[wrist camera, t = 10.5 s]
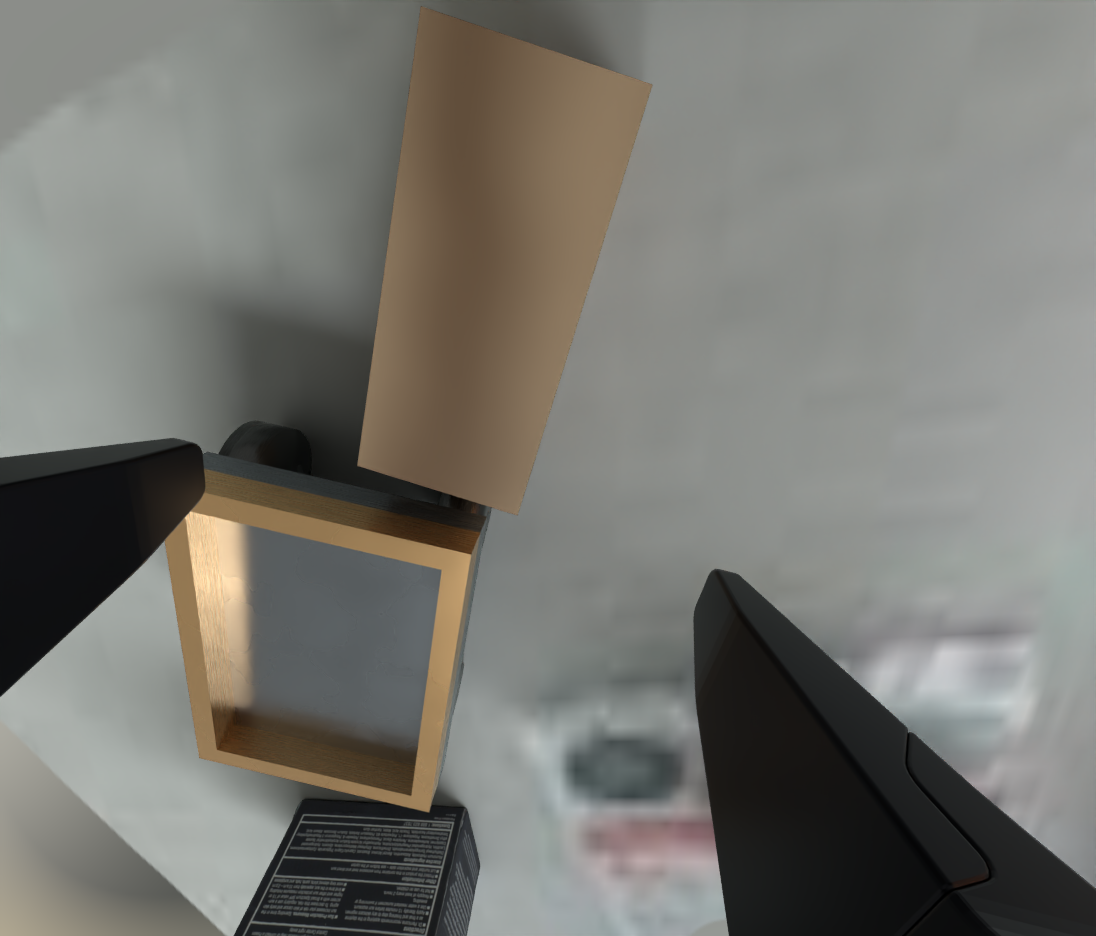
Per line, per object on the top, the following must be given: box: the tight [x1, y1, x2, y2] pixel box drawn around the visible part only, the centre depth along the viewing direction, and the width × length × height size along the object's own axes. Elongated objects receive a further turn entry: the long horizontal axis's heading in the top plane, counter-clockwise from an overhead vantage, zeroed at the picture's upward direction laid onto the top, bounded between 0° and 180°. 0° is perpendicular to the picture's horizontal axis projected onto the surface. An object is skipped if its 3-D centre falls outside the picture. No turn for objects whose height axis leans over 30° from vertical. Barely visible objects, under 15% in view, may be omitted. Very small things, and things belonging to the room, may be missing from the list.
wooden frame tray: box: [165, 421, 492, 812], centre depth 21 cm, size 10×14×6 cm
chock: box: [357, 6, 652, 515], centre depth 15 cm, size 5×11×5 cm, turn 164°
